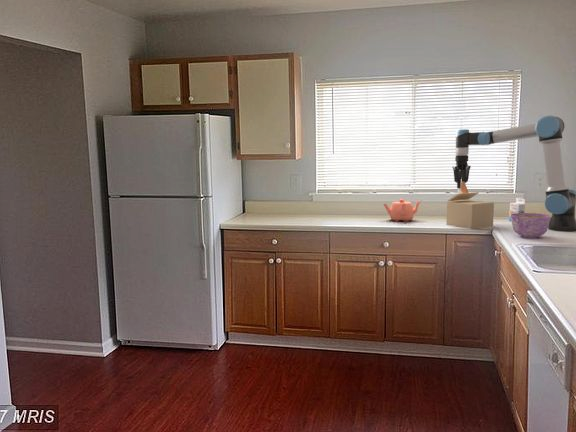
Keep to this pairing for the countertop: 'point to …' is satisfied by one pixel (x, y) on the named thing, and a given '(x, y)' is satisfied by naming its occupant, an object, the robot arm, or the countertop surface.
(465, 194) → the flap
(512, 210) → the ink box
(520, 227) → the purple speckled bowl
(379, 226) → the countertop surface
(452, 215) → the carton
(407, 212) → the teapot
